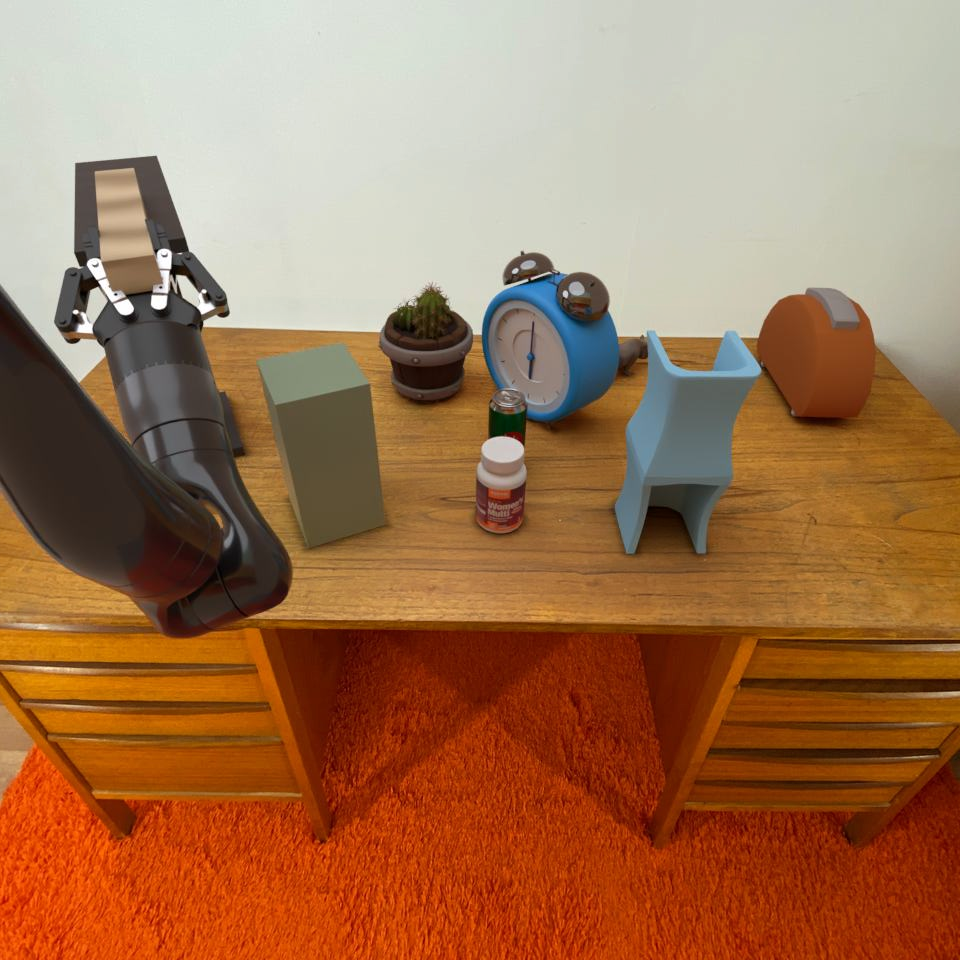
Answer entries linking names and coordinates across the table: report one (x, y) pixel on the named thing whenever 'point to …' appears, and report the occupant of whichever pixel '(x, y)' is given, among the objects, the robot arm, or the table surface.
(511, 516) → the pill bottle
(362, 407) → the green block
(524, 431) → the soda can
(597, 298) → the alarm clock
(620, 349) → the rhino figurine
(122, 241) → the ash stick
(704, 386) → the blue doll chair
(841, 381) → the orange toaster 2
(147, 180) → the stand
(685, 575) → the table surface
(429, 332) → the flowerpot
